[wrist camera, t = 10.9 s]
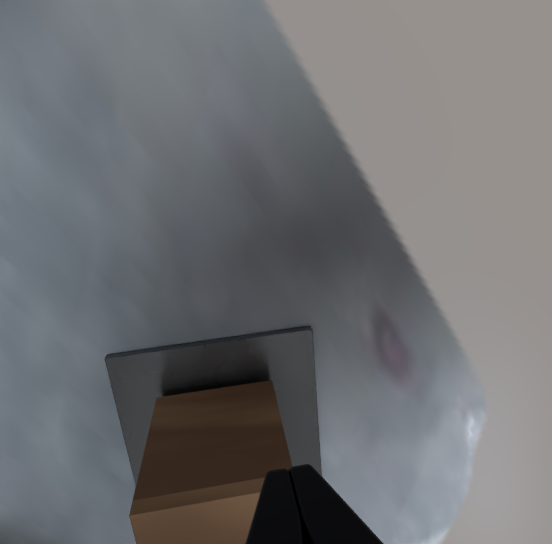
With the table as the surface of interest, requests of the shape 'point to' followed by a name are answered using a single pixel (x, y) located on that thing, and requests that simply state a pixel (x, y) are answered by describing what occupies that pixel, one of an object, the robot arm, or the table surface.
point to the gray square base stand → (221, 383)
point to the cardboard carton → (207, 465)
